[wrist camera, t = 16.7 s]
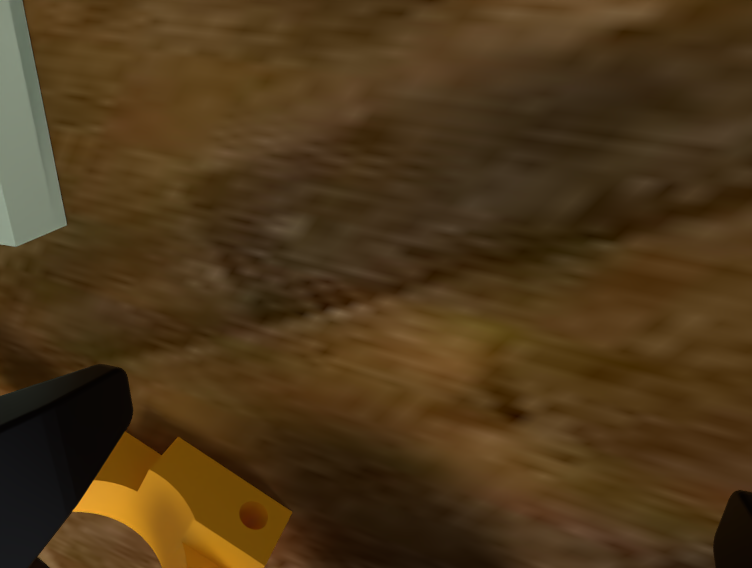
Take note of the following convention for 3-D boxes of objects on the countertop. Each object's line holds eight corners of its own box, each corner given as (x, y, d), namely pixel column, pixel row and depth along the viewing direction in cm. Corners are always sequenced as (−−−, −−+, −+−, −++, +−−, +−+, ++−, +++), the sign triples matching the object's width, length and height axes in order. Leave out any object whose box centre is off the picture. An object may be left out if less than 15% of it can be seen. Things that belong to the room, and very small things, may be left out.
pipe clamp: (293, 509, 27) (228, 637, 22) (258, 555, 29) (189, 683, 24) (82, 369, 27) (-40, 461, 22) (61, 425, 29) (-56, 523, 24)
